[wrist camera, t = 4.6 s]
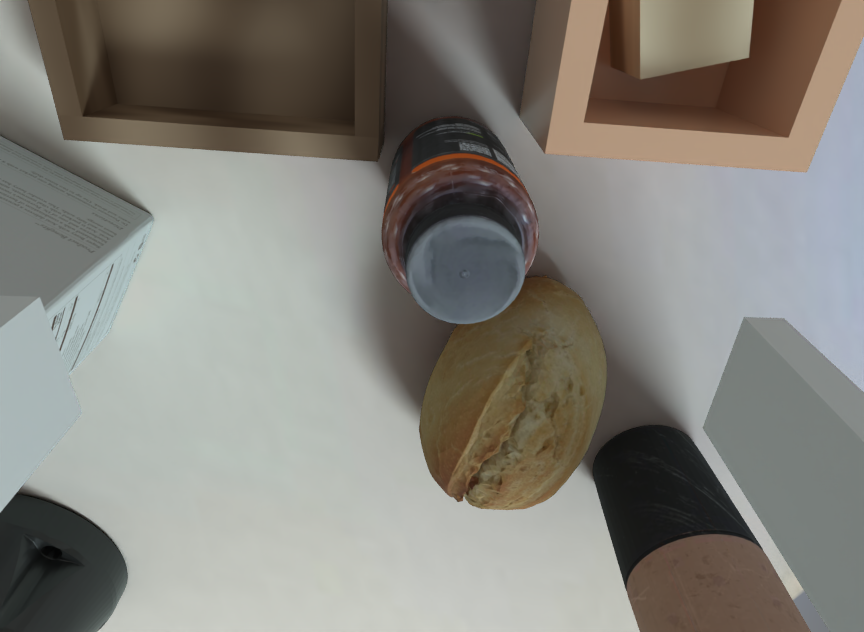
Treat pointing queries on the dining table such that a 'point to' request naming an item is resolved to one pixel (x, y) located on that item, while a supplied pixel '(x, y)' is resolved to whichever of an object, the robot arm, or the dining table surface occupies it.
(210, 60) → the walnut bin
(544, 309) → the bread roll
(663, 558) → the travel mug
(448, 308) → the supplement bottle
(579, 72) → the light wooden box
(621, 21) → the maple cube
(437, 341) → the dining table surface
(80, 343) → the supplement box
